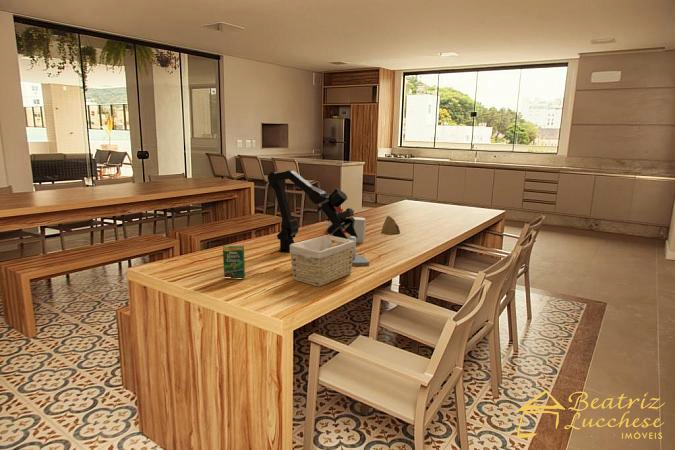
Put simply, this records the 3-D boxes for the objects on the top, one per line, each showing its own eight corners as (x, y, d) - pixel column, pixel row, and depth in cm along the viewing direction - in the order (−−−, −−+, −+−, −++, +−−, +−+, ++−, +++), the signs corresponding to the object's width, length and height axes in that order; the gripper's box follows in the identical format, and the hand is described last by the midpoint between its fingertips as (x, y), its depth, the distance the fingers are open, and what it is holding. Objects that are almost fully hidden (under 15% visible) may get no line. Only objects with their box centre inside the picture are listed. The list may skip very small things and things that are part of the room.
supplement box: (363, 243, 235) (364, 220, 233) (349, 241, 237) (350, 219, 234) (365, 239, 243) (366, 217, 240) (351, 238, 244) (352, 216, 241)
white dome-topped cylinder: (345, 259, 198) (345, 237, 196) (346, 256, 202) (346, 235, 200) (354, 259, 197) (355, 238, 195) (355, 257, 202) (356, 236, 200)
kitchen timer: (336, 227, 273) (336, 203, 270) (354, 230, 265) (355, 206, 262) (322, 231, 262) (322, 206, 259) (341, 234, 254) (341, 209, 251)
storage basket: (318, 289, 163) (319, 251, 160) (287, 279, 172) (287, 243, 169) (355, 274, 182) (356, 240, 179) (324, 266, 191) (325, 234, 188)
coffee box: (223, 279, 170) (222, 246, 168) (224, 277, 173) (224, 245, 170) (243, 280, 170) (243, 247, 168) (245, 277, 173) (244, 245, 170)
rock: (404, 228, 264) (390, 224, 270) (402, 219, 258) (387, 214, 264) (395, 241, 259) (381, 236, 265) (392, 231, 253) (378, 227, 259)
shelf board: (338, 266, 192) (338, 262, 192) (333, 258, 204) (333, 255, 203) (368, 265, 194) (369, 262, 194) (362, 258, 206) (362, 255, 206)
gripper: (333, 205, 188) (356, 233, 186) (352, 200, 205) (372, 225, 202) (317, 220, 193) (338, 248, 191) (336, 214, 210) (356, 240, 207)
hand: (352, 240), depth 198 cm, fingers open, 9 cm apart
